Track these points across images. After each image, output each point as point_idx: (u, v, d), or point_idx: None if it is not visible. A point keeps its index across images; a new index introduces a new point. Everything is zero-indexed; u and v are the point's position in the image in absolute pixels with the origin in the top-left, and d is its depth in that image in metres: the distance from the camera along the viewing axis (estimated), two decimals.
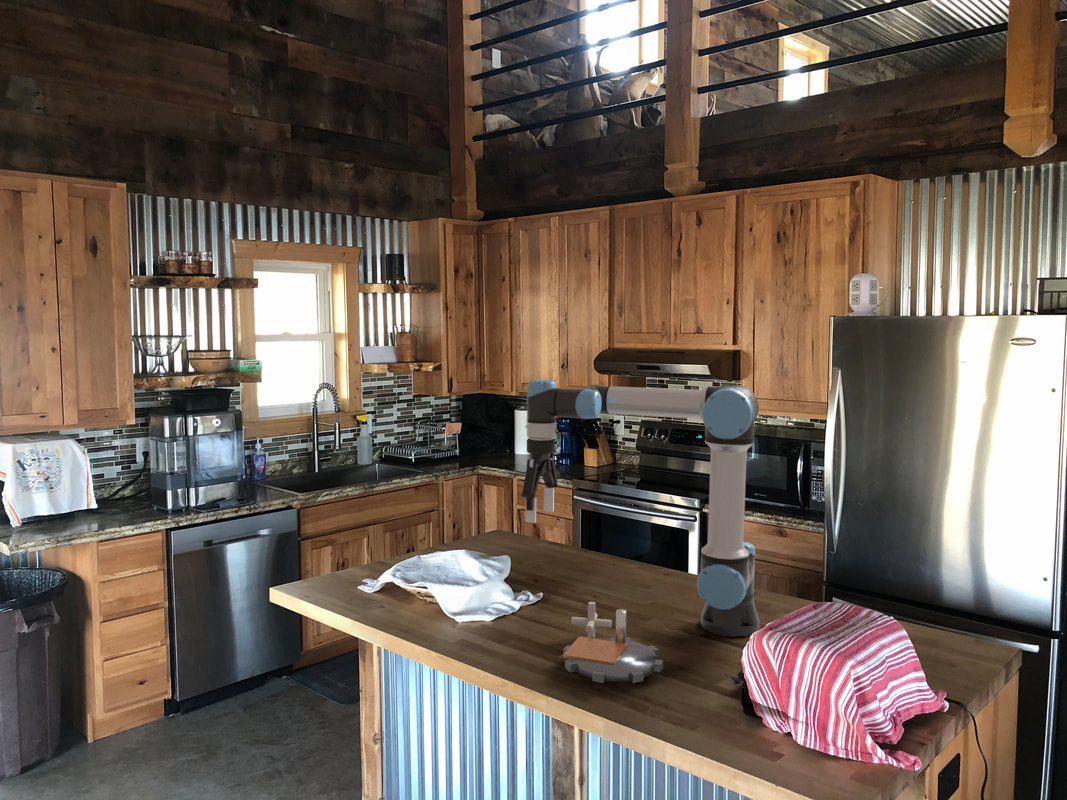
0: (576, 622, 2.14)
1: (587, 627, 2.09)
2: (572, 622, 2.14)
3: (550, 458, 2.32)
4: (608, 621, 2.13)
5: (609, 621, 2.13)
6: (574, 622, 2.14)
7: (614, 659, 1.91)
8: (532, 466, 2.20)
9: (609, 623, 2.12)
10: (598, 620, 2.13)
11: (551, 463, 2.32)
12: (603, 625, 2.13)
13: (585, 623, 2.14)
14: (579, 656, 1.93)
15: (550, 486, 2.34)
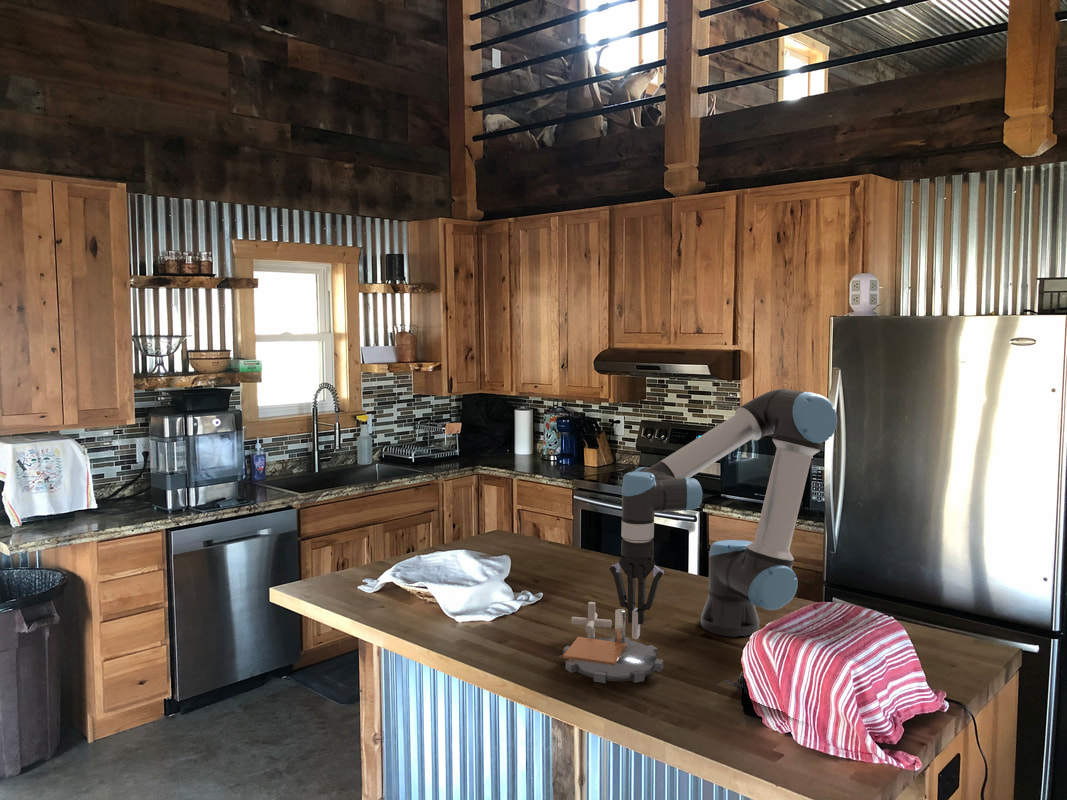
0: (576, 622, 2.14)
1: (587, 627, 2.09)
2: (572, 622, 2.14)
3: (655, 573, 1.97)
4: (608, 621, 2.13)
5: (609, 621, 2.13)
6: (574, 622, 2.14)
7: (615, 659, 1.91)
8: None
9: (609, 623, 2.12)
10: (598, 620, 2.13)
11: (653, 580, 1.97)
12: (603, 625, 2.13)
13: (585, 623, 2.14)
14: (579, 656, 1.93)
15: None
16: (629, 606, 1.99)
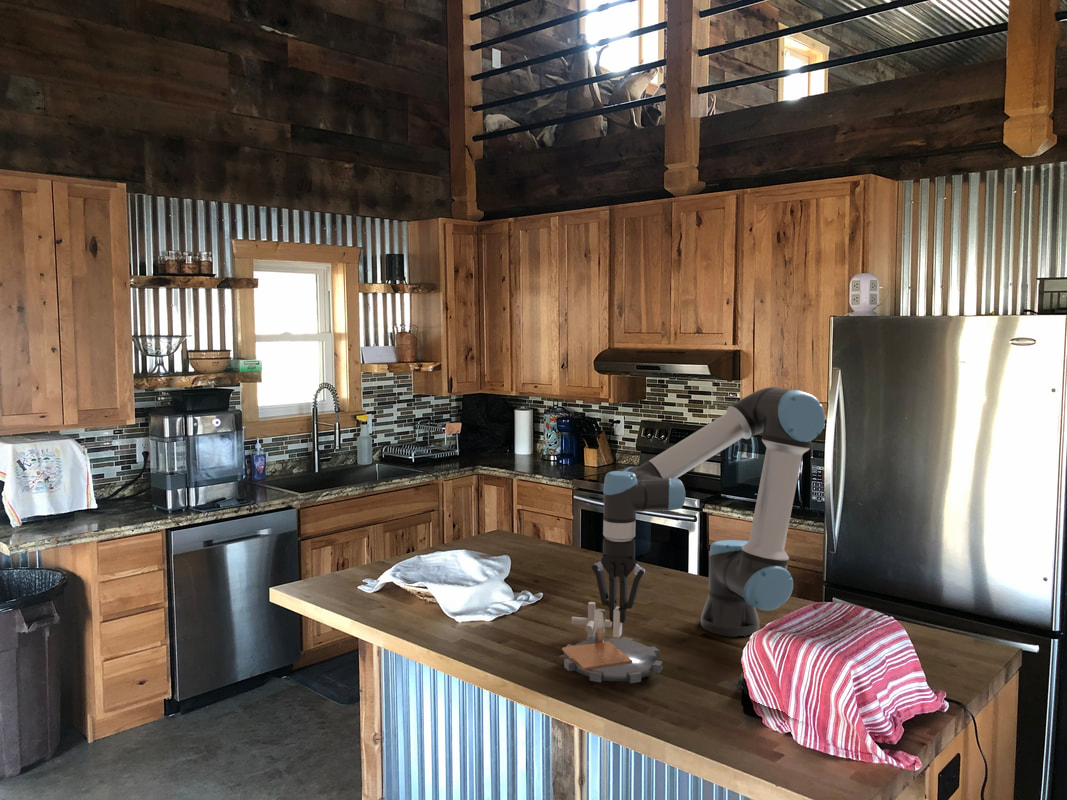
0: (576, 622, 2.14)
1: (587, 627, 2.09)
2: (572, 622, 2.14)
3: (636, 572, 1.98)
4: (608, 621, 2.13)
5: (609, 621, 2.13)
6: (574, 622, 2.14)
7: (627, 657, 1.93)
8: None
9: (609, 623, 2.12)
10: None
11: (634, 578, 1.99)
12: None
13: (585, 623, 2.14)
14: (598, 664, 1.89)
15: (620, 605, 2.01)
16: (610, 604, 2.01)
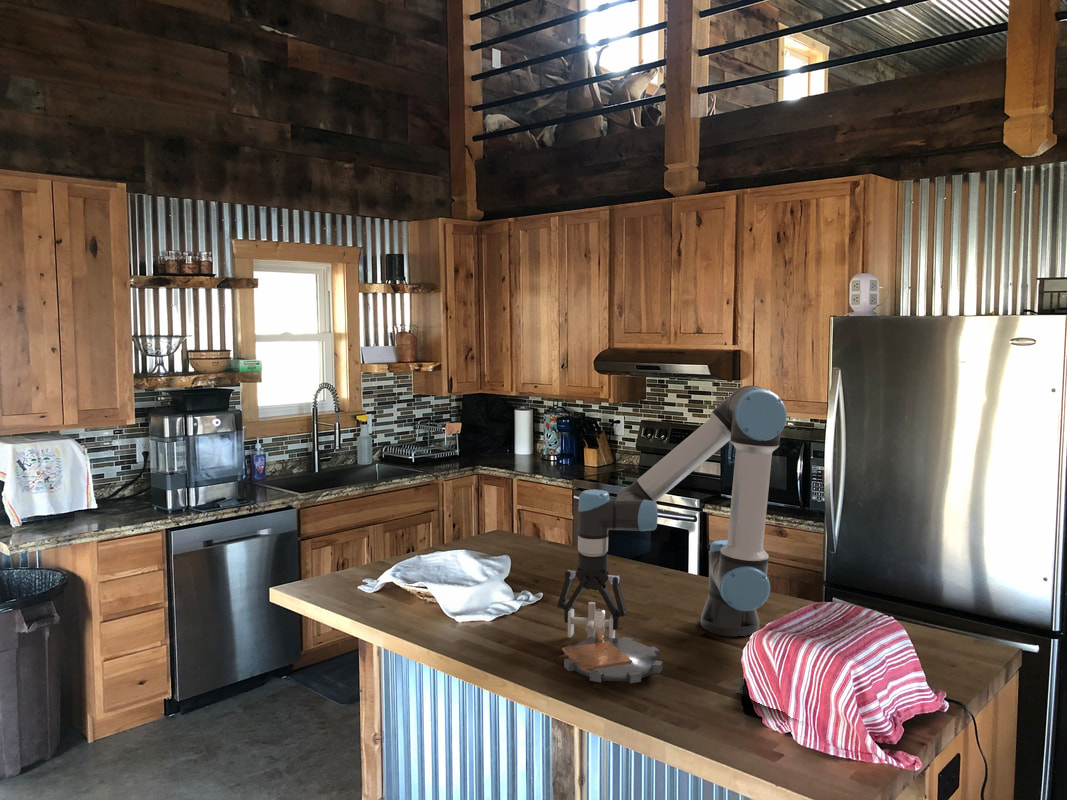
0: (576, 622, 2.14)
1: (587, 627, 2.09)
2: (572, 622, 2.14)
3: (611, 581, 2.10)
4: (608, 621, 2.13)
5: None
6: (574, 622, 2.14)
7: (627, 657, 1.93)
8: None
9: None
10: None
11: None
12: None
13: (585, 623, 2.14)
14: (598, 664, 1.89)
15: None
16: (566, 607, 2.15)
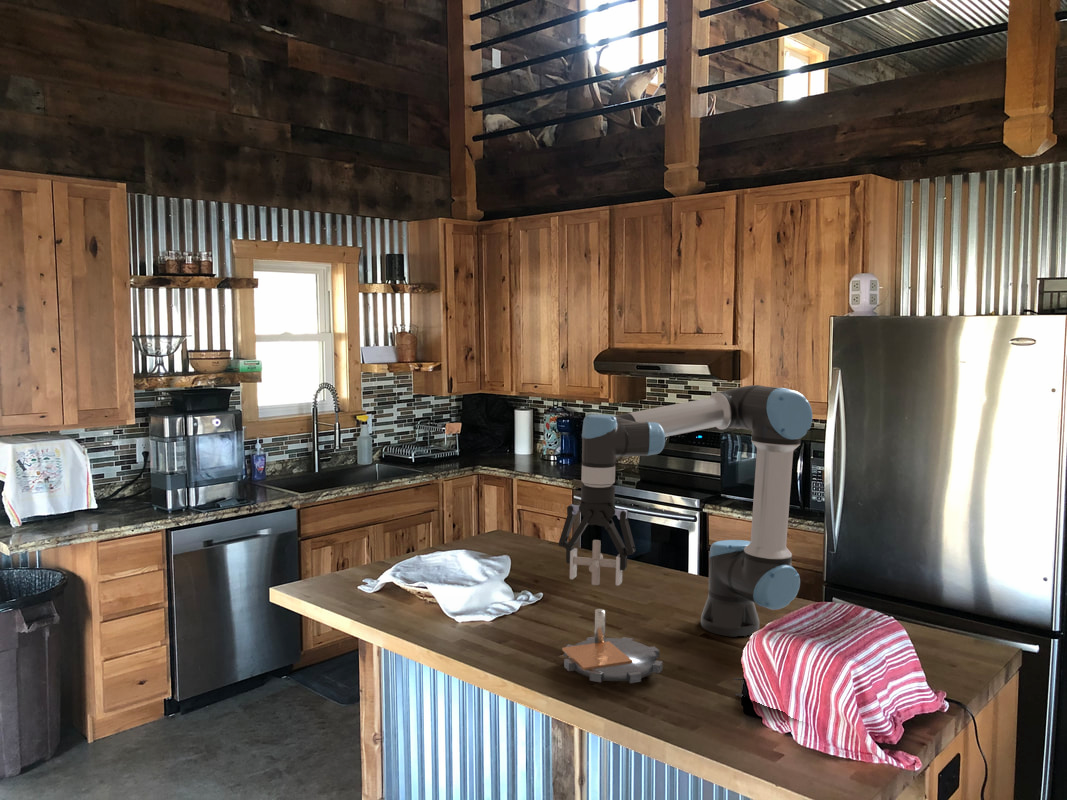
0: (579, 562, 1.92)
1: (591, 566, 1.88)
2: (575, 562, 1.93)
3: (619, 516, 1.89)
4: (615, 561, 1.91)
5: None
6: (577, 562, 1.93)
7: (627, 657, 1.93)
8: None
9: (615, 563, 1.91)
10: (603, 560, 1.92)
11: None
12: (609, 565, 1.91)
13: (589, 563, 1.92)
14: (598, 664, 1.89)
15: None
16: (568, 545, 1.93)
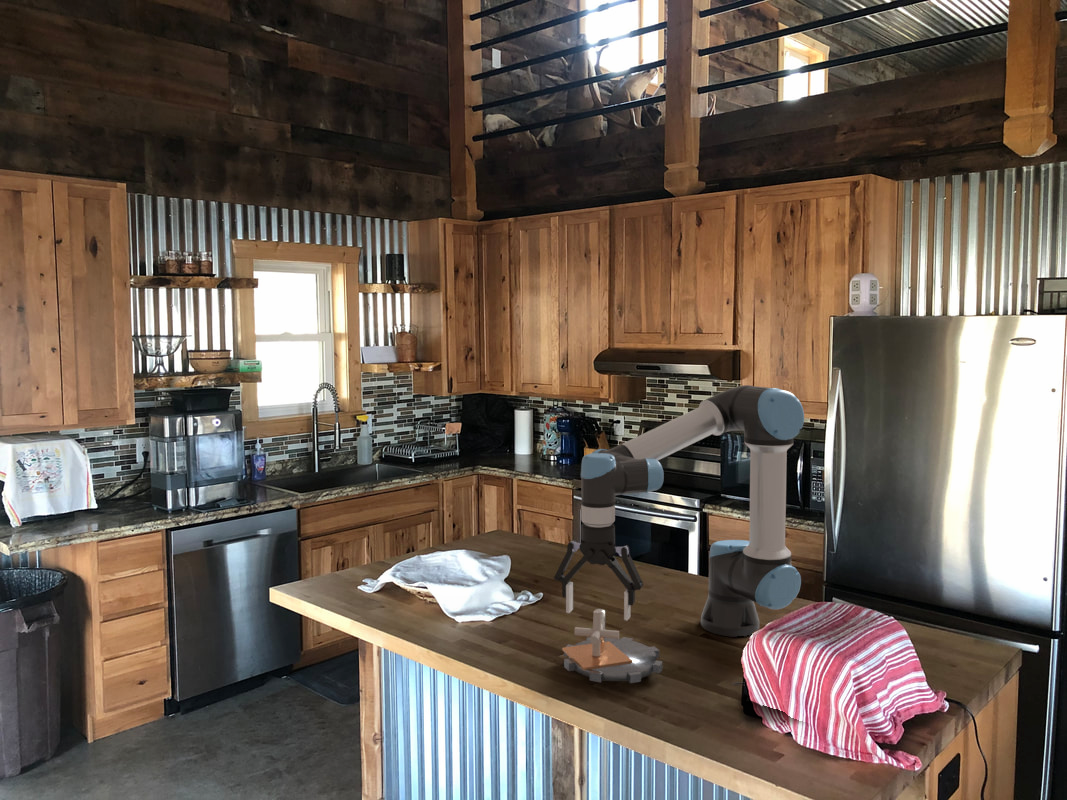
0: (580, 633, 1.93)
1: (592, 638, 1.89)
2: (575, 633, 1.94)
3: (620, 553, 1.89)
4: (615, 632, 1.92)
5: (616, 632, 1.92)
6: (578, 633, 1.93)
7: (627, 657, 1.93)
8: None
9: (616, 634, 1.92)
10: (604, 631, 1.93)
11: None
12: (610, 636, 1.92)
13: (590, 634, 1.93)
14: (598, 664, 1.89)
15: None
16: (564, 580, 1.94)
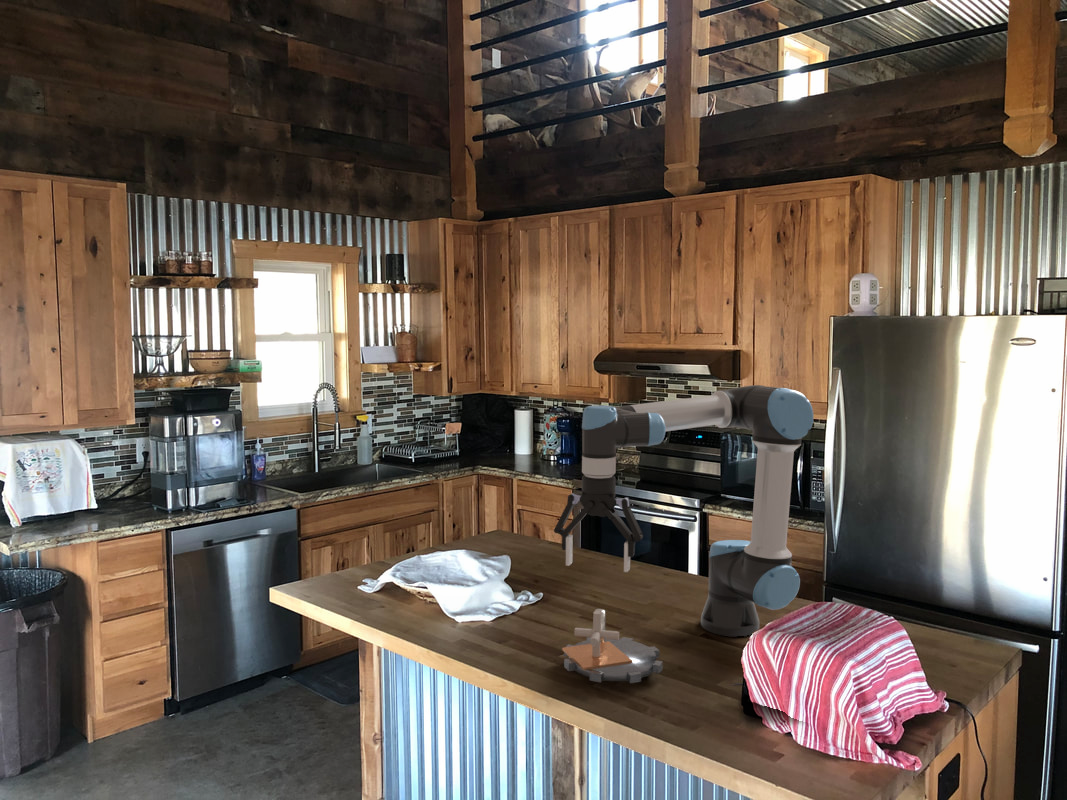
0: (580, 634, 1.93)
1: (592, 640, 1.88)
2: (575, 634, 1.93)
3: (621, 505, 1.89)
4: (615, 633, 1.92)
5: (616, 633, 1.92)
6: (578, 634, 1.93)
7: (627, 657, 1.93)
8: None
9: (616, 635, 1.91)
10: (604, 632, 1.92)
11: None
12: (610, 637, 1.92)
13: (590, 635, 1.93)
14: (598, 664, 1.89)
15: None
16: (564, 532, 1.94)
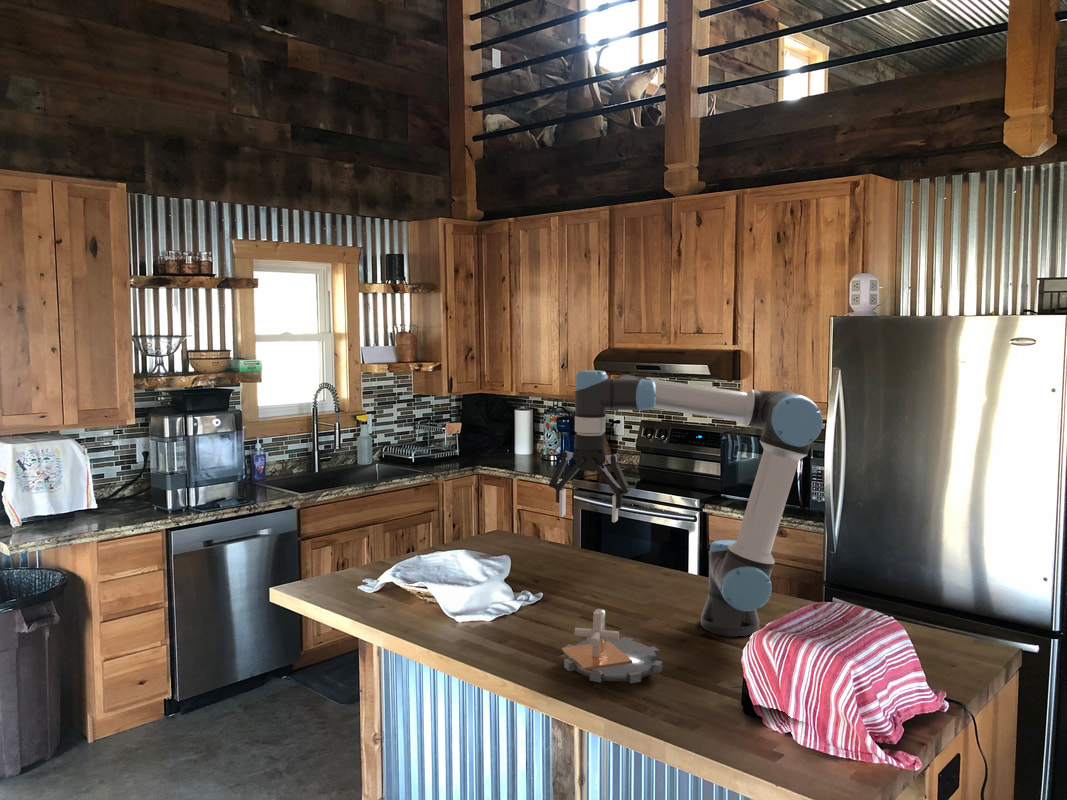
0: (580, 634, 1.93)
1: (592, 640, 1.88)
2: (575, 634, 1.93)
3: (609, 460, 2.07)
4: (615, 633, 1.92)
5: (617, 633, 1.92)
6: (578, 634, 1.93)
7: (627, 657, 1.93)
8: None
9: (616, 635, 1.91)
10: (604, 632, 1.92)
11: None
12: (610, 637, 1.92)
13: (590, 635, 1.93)
14: (598, 664, 1.89)
15: None
16: (558, 486, 2.12)
